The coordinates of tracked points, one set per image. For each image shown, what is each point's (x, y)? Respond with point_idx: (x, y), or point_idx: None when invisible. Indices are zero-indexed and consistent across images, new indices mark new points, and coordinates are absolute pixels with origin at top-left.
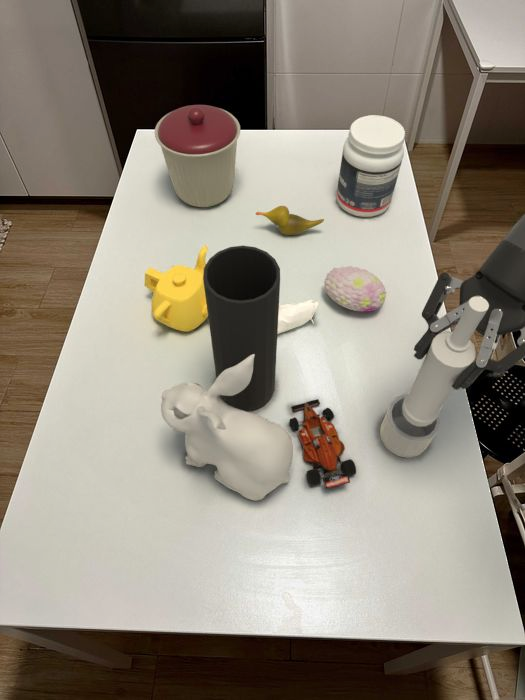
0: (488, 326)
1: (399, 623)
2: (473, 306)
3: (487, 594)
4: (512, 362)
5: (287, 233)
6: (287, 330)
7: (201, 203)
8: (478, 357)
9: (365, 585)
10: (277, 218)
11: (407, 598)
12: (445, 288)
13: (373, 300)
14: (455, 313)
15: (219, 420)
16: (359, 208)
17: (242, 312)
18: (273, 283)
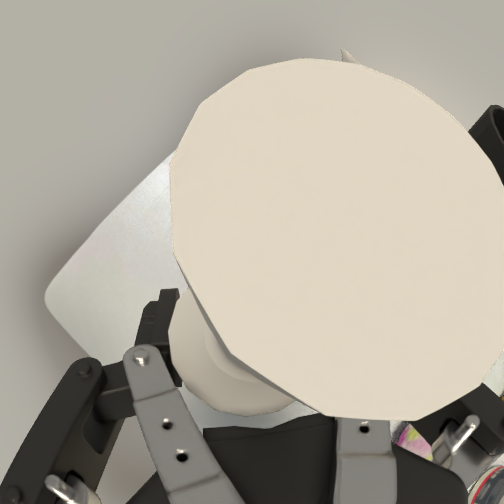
0: (206, 458)
1: (108, 226)
2: (378, 92)
3: (70, 307)
4: (52, 404)
5: (502, 399)
6: None
7: None
8: (158, 361)
9: (148, 222)
10: None
11: (115, 245)
12: (473, 415)
13: (410, 444)
14: None
15: (350, 62)
16: (485, 482)
17: (478, 123)
18: None
